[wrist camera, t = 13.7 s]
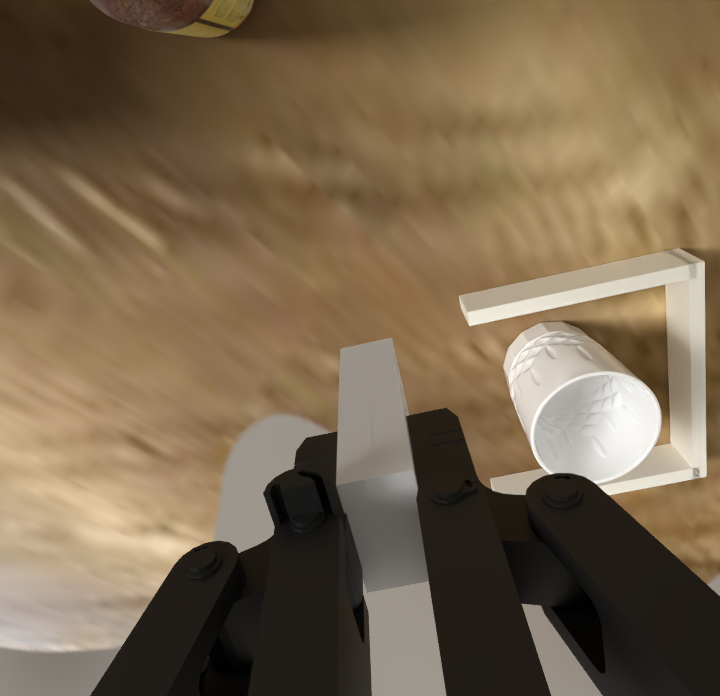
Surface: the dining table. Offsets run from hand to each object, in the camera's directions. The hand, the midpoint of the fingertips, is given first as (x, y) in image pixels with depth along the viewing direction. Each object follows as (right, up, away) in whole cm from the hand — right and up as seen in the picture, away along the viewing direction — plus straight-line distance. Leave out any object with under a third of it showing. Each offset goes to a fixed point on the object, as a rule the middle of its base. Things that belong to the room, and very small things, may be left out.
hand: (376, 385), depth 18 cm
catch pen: (+16, -1, +30) cm, 34 cm away
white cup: (+14, 0, +29) cm, 32 cm away
